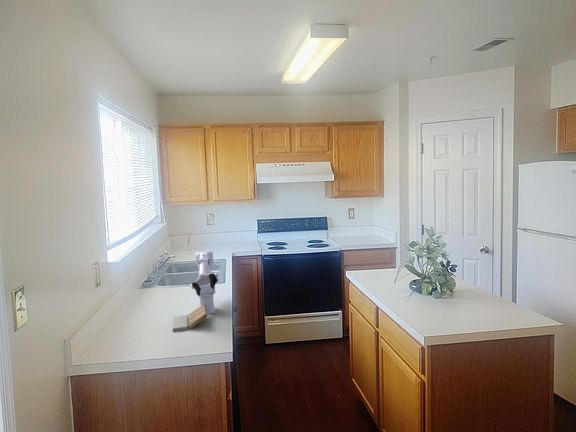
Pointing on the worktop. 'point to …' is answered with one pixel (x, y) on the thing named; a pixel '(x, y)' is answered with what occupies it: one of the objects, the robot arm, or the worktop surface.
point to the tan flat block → (197, 316)
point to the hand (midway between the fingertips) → (205, 291)
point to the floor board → (180, 323)
